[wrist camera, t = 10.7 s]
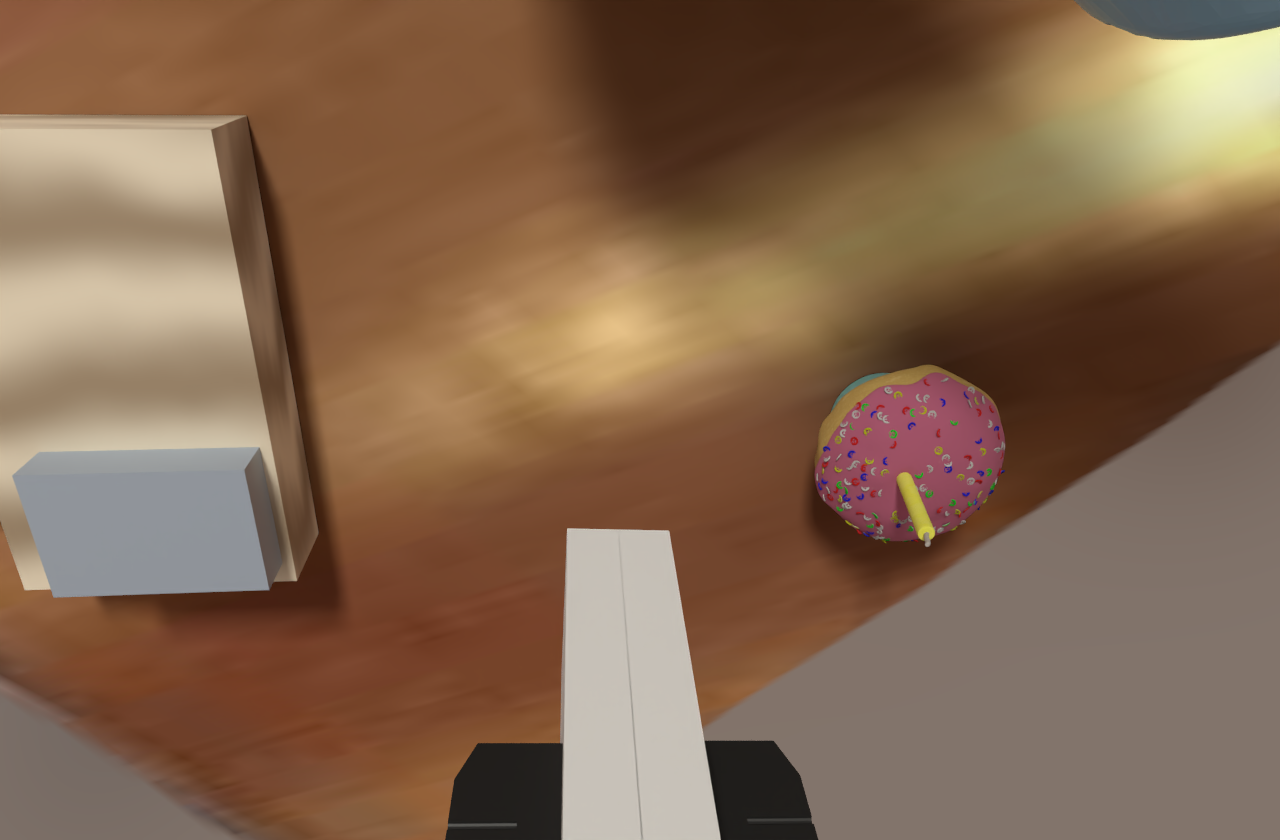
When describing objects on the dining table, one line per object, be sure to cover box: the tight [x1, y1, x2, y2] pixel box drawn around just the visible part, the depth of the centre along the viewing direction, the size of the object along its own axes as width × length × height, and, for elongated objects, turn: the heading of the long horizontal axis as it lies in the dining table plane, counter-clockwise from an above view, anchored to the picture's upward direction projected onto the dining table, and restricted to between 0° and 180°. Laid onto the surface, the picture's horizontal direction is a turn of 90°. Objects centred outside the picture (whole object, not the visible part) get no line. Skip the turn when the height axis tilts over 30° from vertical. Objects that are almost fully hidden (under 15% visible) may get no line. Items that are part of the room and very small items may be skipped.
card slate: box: [12, 447, 282, 597], centre depth 38 cm, size 9×6×2 cm, turn 89°
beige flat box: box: [0, 115, 319, 590], centre depth 38 cm, size 20×12×4 cm, turn 179°
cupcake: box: [814, 365, 1005, 547], centre depth 39 cm, size 9×8×12 cm
